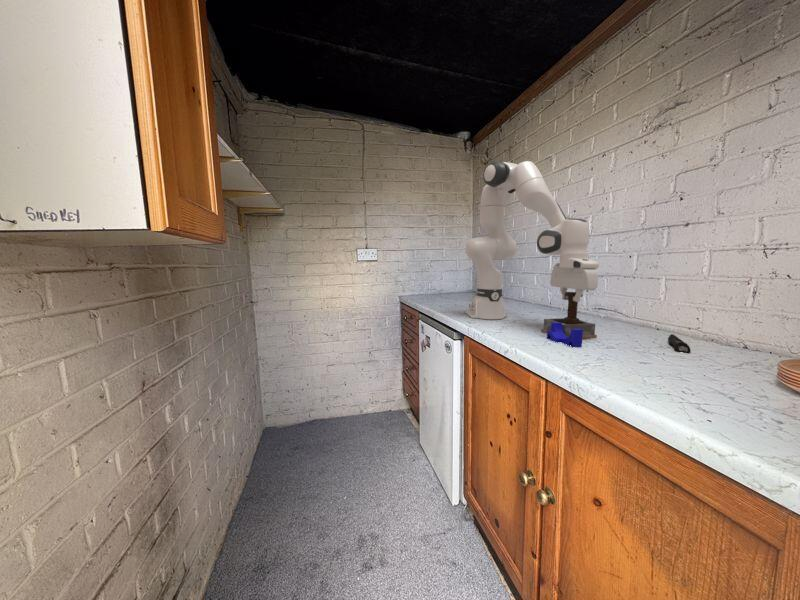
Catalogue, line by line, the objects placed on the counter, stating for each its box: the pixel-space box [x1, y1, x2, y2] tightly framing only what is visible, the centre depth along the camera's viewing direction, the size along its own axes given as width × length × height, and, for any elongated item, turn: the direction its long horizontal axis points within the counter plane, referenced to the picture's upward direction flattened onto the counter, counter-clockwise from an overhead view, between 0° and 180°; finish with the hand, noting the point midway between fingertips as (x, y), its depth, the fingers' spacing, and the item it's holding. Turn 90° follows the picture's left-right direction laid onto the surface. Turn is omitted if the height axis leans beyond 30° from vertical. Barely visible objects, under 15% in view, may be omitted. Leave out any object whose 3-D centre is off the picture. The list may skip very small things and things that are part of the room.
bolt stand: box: [541, 317, 598, 340], centre depth 115 cm, size 13×13×5 cm
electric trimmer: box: [667, 334, 692, 354], centre depth 100 cm, size 4×16×3 cm, turn 148°
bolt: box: [563, 291, 584, 324], centre depth 114 cm, size 6×5×15 cm
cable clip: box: [546, 322, 583, 348], centre depth 105 cm, size 12×4×6 cm, turn 7°
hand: (570, 300), depth 114 cm, fingers closed on bolt, 4 cm apart
